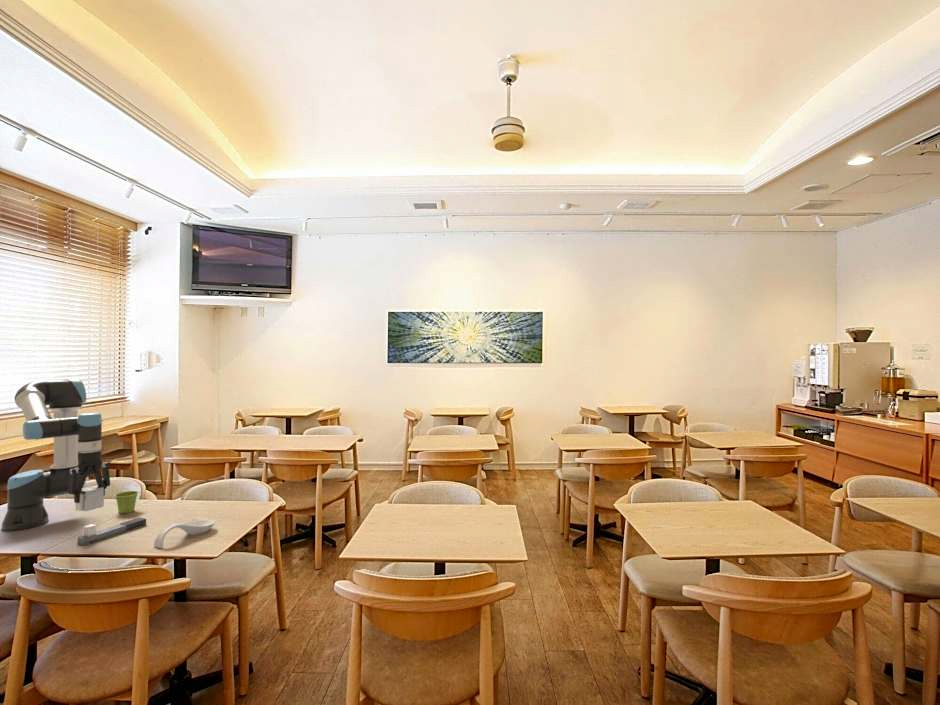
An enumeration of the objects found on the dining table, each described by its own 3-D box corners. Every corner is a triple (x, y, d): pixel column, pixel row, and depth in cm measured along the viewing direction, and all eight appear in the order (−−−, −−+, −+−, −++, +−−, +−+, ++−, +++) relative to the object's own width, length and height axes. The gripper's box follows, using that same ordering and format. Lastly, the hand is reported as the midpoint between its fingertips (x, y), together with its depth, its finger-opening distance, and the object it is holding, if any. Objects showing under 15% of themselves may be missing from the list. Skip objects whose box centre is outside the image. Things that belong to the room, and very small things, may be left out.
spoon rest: (201, 525, 206) (201, 509, 206) (220, 529, 202) (220, 513, 202) (147, 546, 184) (147, 528, 184) (168, 551, 179) (168, 532, 179)
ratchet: (85, 545, 184) (85, 529, 184) (77, 543, 186) (77, 527, 186) (146, 524, 206) (146, 510, 206) (138, 523, 208) (138, 508, 208)
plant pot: (143, 509, 227) (143, 491, 227) (124, 515, 218) (124, 497, 218) (128, 507, 229) (128, 490, 229) (109, 513, 220) (109, 495, 220)
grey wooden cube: (75, 509, 186) (75, 489, 186) (93, 504, 192) (93, 485, 192) (85, 511, 183) (85, 491, 183) (103, 506, 189) (103, 487, 189)
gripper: (67, 456, 177) (67, 516, 177) (121, 447, 195) (121, 501, 195) (55, 455, 180) (55, 514, 180) (110, 446, 198) (110, 499, 198)
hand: (89, 507), depth 188 cm, fingers closed on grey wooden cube, 6 cm apart
